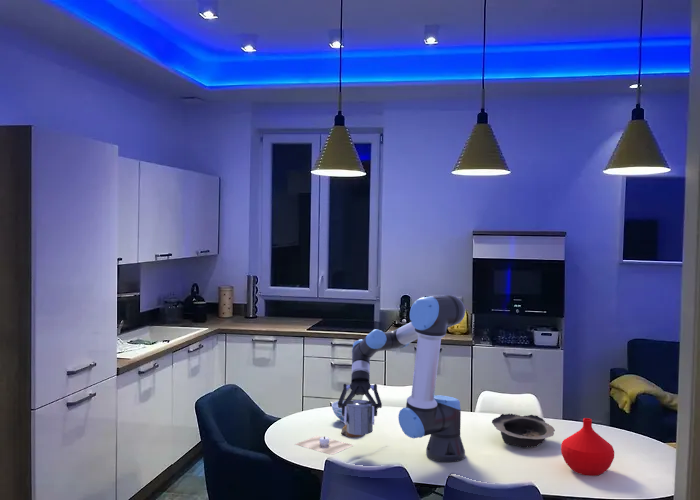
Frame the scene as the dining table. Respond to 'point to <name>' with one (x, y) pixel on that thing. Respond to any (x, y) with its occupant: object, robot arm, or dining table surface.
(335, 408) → the chinaware
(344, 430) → the bread roll
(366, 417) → the steel tin
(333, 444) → the striped cloth
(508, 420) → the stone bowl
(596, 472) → the vase
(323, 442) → the candle
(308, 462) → the dining table surface
